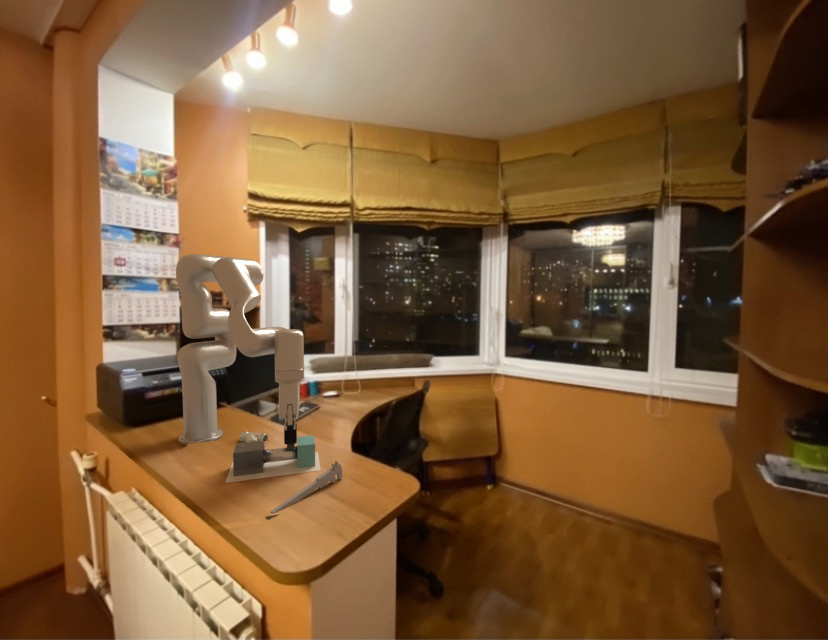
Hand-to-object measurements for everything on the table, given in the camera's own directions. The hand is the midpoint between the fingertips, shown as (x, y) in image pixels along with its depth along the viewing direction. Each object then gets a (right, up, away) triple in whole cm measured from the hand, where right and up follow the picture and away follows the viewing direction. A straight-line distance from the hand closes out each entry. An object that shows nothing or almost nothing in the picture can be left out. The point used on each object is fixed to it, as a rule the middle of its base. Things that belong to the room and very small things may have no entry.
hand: (290, 440), depth 102 cm
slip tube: (-2, -5, 0) cm, 6 cm away
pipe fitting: (-17, -7, +15) cm, 24 cm away
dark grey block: (-10, -7, -3) cm, 12 cm away
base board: (-4, -8, -1) cm, 9 cm away
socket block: (+4, -7, +2) cm, 8 cm away
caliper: (+9, -9, -15) cm, 20 cm away
